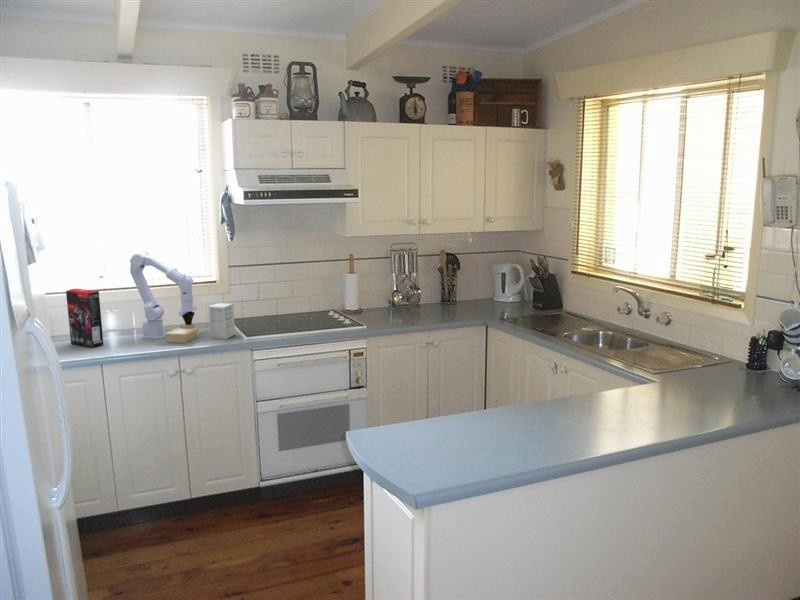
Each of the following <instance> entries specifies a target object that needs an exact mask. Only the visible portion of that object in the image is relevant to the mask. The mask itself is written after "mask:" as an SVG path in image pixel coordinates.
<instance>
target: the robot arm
mask: <svg viewBox="0 0 800 600" xmlns="http://www.w3.org/2000/svg"><path fill="white" fill-rule="evenodd" d="M129 262H130V265H129V266H130V268H129V273H130V275H131V277H132V279H133V280H132V281H133V282H134V284H135V286H136V288H137V290H138V293H139V295H140V297H141V299H142V302H143V303H144V308H143V309H144V312H145V313H144V317H145V320H144V321H143V323H142V334H143V336H142V339H161V338H164V337H165V334H166V333H164V332H165V331H164V321H163V320H164V319H163V316H164V314H165V311H164V309H163V307H162V306H161V305H160V304H159V302H158V301H157V300H155V297H154V295H153V292H152V291H151V289H150V285H149V284H148V282H147V279H146V278H145V277H146V276H145V275H144V273H143V272H144V269H145V268H146V267H148V266H149V267H151V266H152V267H153V268H155V269H157V270H159V271H160V272H162V273H164V274H165V277H166V278H167V279H169V280H170V281H172V282H173V283H175V284H176V285H177V286H178V287H179V289H180V291H179V292H180V302H181V303H180V307H181V309H180V310H179V311H178V316H181V317H182V319H183V321H184V325H193V318H194V315H195V311H196V310H197V306H196V305H194V298H193V297H194V296H193V285H194V279H193V278H192V277H191V276H189V275H186V274H183V273H182V272H180V271H179V270H178V269H177V268H175V267H174V268H172V267H171V268H170V267H168V266H167V265H165V264H164V263H163V262H161V261H160V260H159V259H157V258H156V257H155V256H154V255H152V254H150V253H149V252H147V251H142V252H138V253H134V254H133V255H131V258H130V259H129Z"/></svg>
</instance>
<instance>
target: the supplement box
mask: <svg viewBox="0 0 800 600" xmlns="http://www.w3.org/2000/svg"><path fill="white" fill-rule="evenodd" d="M234 312H235V311H234V303H219V302H217V303H215V304H214V303H213V304H211V305H209V306H208V316H209V318H208V319H209V331H210V335H209V336H210V338H211V339H224V340H228V339H230V338H232V337H234V336H233V335H235V336H236V327H235V326H236V325H235V313H234ZM231 336H232V337H231ZM229 337H230V338H229ZM227 338H228V339H227Z"/></svg>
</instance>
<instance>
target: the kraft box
mask: <svg viewBox="0 0 800 600" xmlns="http://www.w3.org/2000/svg"><path fill="white" fill-rule="evenodd" d="M198 335H199V334H198V331H197V332H195V333H193V334H191V335H189V336H186V337H184V335H167V336H166V339H167V343H186V342H188V341H190V340H192V339H194V338H196V337H198Z"/></svg>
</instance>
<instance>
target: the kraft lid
mask: <svg viewBox="0 0 800 600" xmlns="http://www.w3.org/2000/svg"><path fill="white" fill-rule="evenodd" d="M195 332H197V333H198V332H199V328H198V327H196V325H195V324H191V325H186V324H185V323H184V324H182V323H181V324H179V327H177V328H174V329H173V330H170V331H168V332H166V333H164V334H165V336H164V337H166V338H167V335H184V337H186V336H189V335H191V334H193V333H195Z"/></svg>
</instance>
